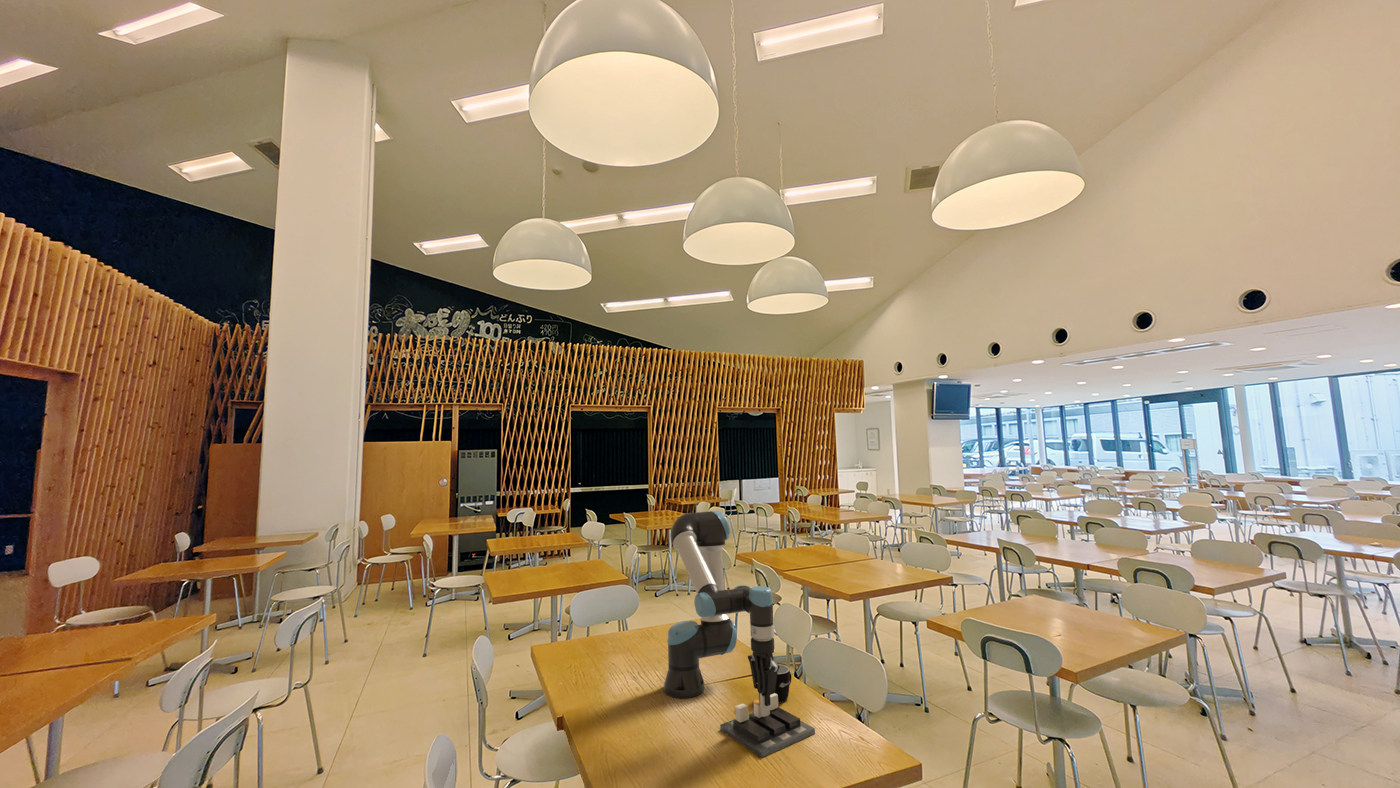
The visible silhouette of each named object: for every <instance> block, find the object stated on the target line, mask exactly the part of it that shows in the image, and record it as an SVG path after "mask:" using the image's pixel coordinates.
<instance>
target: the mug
mask: <svg viewBox="0 0 1400 788" xmlns="http://www.w3.org/2000/svg"><path fill="white" fill-rule="evenodd" d="M775 664H776V665H777V664H778V663H775ZM778 665H779V666H780V668H779V670H778V672H777V680H776V688H775V694H777V695H778V703H784V702H787V700H788V698H789V694H790V693H789V692H790V685H791V683H792V673H791V671H790V667H789V666H787V665H784V664H778Z"/></svg>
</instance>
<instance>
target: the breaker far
mask: <svg viewBox="0 0 1400 788" xmlns="http://www.w3.org/2000/svg"><path fill="white" fill-rule="evenodd" d="M778 707H779V702H778V695H777V694H775V693H774V694H771V695H770V710H773V709H776V708H778Z"/></svg>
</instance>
